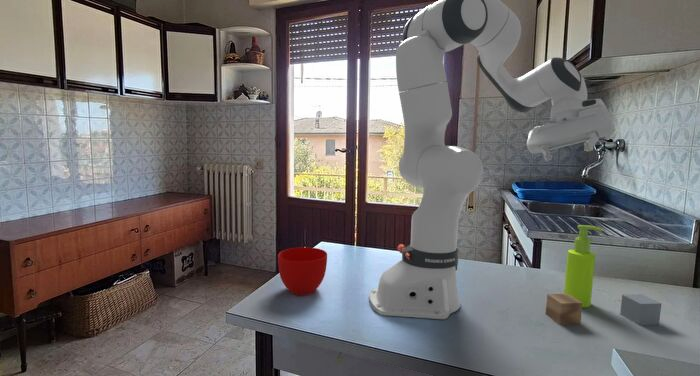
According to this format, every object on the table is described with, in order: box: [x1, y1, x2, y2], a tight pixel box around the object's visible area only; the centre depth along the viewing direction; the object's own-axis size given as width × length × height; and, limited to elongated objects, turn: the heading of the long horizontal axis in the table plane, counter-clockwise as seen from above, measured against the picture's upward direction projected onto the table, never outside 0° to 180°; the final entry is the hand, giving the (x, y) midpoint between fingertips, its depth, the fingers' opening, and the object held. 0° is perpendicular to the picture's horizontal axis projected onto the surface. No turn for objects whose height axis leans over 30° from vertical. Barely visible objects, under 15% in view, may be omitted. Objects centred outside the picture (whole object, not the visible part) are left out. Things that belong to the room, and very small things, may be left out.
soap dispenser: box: [563, 224, 604, 308], centre depth 91 cm, size 6×7×20 cm
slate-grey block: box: [619, 293, 663, 326], centre depth 84 cm, size 5×5×5 cm
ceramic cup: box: [277, 246, 328, 296], centre depth 98 cm, size 13×17×10 cm
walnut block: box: [545, 293, 583, 325], centre depth 83 cm, size 5×5×5 cm
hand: (567, 154), depth 92 cm, fingers open, 8 cm apart
